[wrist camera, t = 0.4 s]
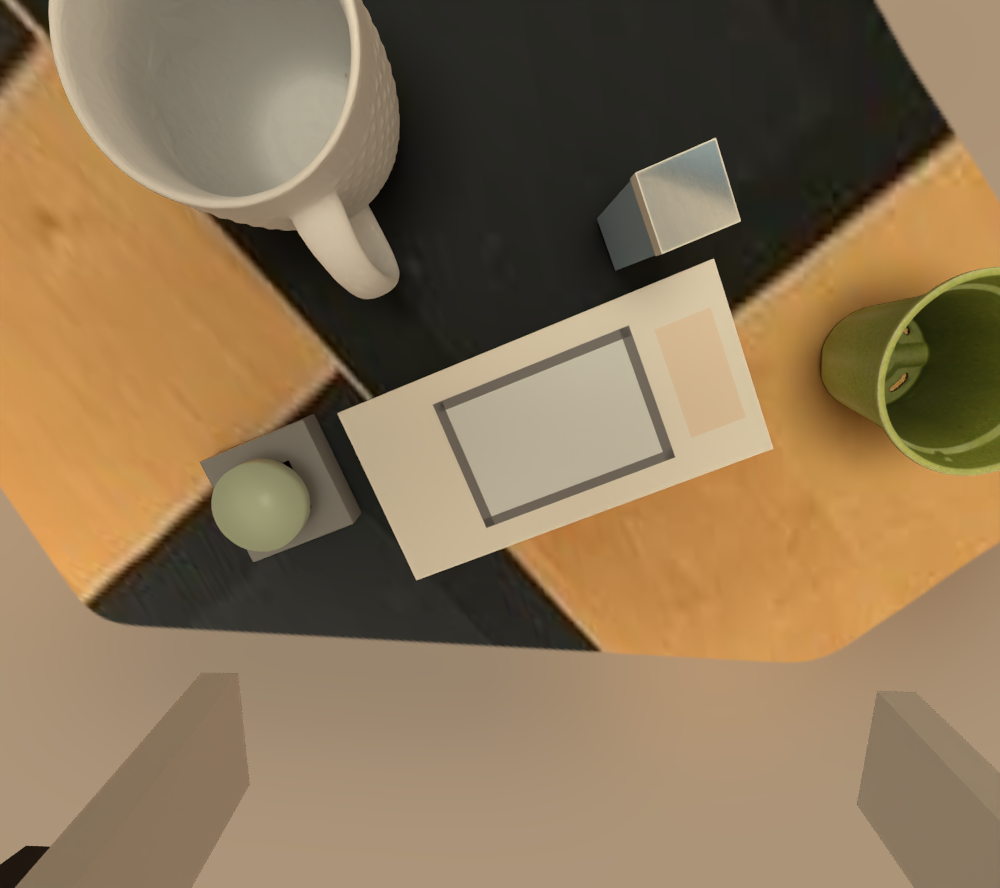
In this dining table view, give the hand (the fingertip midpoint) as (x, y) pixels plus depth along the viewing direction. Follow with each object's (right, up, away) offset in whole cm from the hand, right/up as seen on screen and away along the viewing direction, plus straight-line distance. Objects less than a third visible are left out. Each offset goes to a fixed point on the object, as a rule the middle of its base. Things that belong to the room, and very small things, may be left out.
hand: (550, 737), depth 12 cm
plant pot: (+21, +11, +23) cm, 33 cm away
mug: (-10, +22, +21) cm, 32 cm away
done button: (-15, +3, +24) cm, 28 cm away
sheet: (+2, +7, +24) cm, 25 cm away
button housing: (-15, +4, +25) cm, 29 cm away
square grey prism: (+6, +18, +21) cm, 29 cm away
